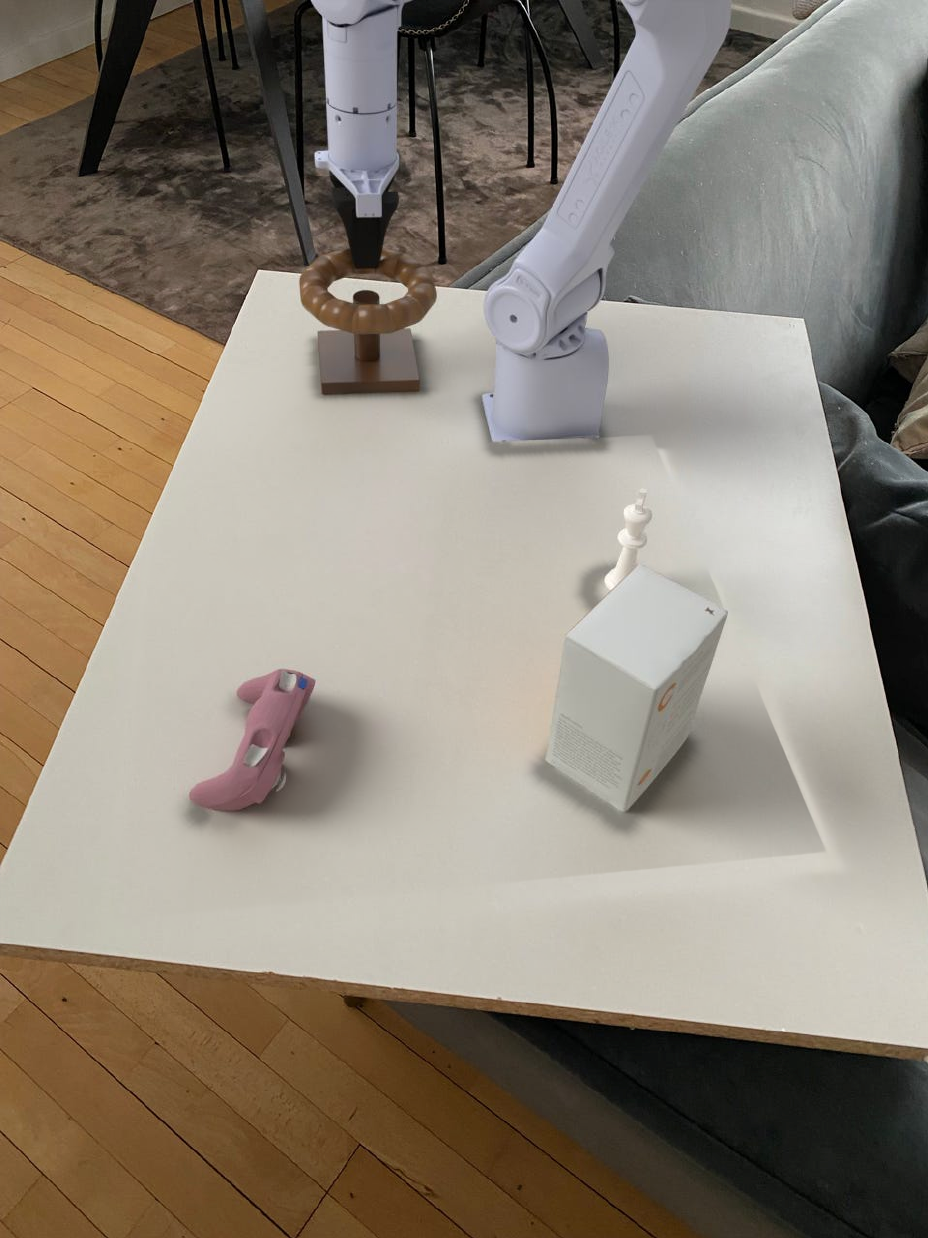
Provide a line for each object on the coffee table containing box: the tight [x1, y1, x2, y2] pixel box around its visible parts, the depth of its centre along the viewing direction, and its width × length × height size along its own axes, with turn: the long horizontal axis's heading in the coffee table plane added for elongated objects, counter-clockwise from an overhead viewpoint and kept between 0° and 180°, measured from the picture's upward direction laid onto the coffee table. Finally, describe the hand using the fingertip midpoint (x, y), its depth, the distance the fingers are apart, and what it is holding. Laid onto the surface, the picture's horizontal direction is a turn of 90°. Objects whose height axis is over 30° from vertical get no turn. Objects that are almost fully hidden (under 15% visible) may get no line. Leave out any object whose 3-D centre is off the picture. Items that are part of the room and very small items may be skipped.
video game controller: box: [188, 668, 316, 812], centre depth 65 cm, size 10×5×7 cm, turn 168°
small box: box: [544, 563, 729, 813], centre depth 64 cm, size 8×6×13 cm
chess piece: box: [603, 487, 653, 592], centre depth 76 cm, size 5×5×10 cm
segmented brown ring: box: [298, 246, 438, 334], centre depth 91 cm, size 12×12×2 cm
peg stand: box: [317, 289, 421, 395], centre depth 96 cm, size 9×9×7 cm
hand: (364, 258), depth 94 cm, fingers closed on segmented brown ring, 2 cm apart
